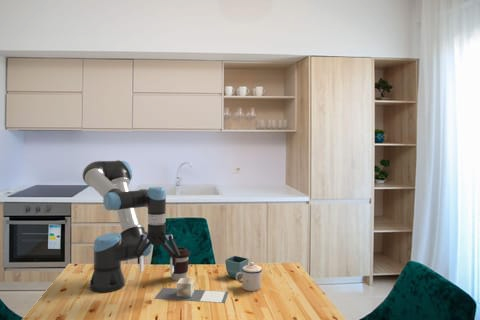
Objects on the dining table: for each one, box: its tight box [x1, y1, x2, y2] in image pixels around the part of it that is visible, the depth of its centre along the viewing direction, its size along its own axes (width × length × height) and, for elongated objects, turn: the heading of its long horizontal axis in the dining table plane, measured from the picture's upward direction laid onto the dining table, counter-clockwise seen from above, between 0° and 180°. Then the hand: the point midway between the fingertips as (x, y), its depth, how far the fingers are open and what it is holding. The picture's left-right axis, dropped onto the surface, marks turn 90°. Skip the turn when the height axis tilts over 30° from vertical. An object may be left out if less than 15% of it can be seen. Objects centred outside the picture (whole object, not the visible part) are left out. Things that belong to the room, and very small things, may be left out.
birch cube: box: [176, 277, 195, 298], centre depth 166 cm, size 6×6×6 cm
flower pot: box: [224, 255, 250, 280], centre depth 191 cm, size 9×9×9 cm
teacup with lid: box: [235, 261, 263, 292], centre depth 177 cm, size 12×9×12 cm
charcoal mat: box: [153, 287, 230, 304], centre depth 166 cm, size 30×12×1 cm, turn 84°
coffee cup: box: [168, 246, 191, 282], centre depth 186 cm, size 10×10×15 cm
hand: (156, 272), depth 167 cm, fingers open, 13 cm apart
